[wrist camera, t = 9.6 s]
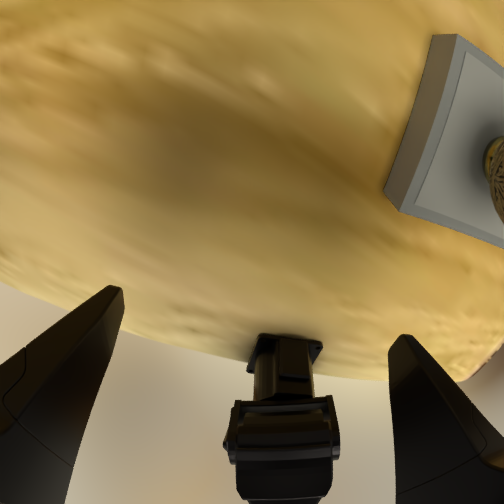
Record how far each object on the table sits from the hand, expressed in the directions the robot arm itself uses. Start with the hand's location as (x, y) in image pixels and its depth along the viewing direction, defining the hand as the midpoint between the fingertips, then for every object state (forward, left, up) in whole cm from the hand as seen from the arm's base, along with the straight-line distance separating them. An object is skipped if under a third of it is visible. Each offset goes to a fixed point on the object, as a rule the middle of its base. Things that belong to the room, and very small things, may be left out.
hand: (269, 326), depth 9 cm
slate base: (+7, -14, -12) cm, 20 cm away
